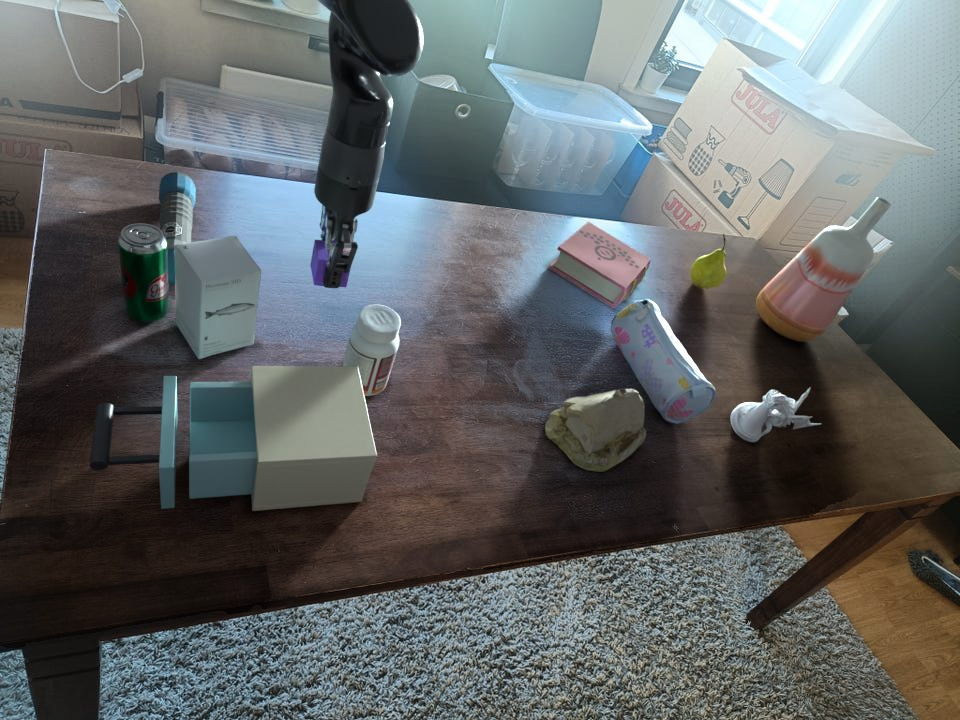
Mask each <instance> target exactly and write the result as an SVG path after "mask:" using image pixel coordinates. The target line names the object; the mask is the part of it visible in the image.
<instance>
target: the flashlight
mask: <svg viewBox="0 0 960 720" xmlns="http://www.w3.org/2000/svg"><path fill="white" fill-rule="evenodd" d="M196 192H197V188H196V184H195V182H194V181H193V179H192V178H191V177H190V176H188V175H187V174H185V173H182V172H178V171H172V172H169V173H166V174H164V175H163V176H162V177H161V179H160V183H159V190H158V201H159V204H160V211H159V213H160V214H159V222H158V225H159V229H160V230H161V231H162V232H163V235H164V237H165V238H166V240H167V251H168V285H169V286H175V245H176V244H183V243H190V242H192V229H193V222H194V220H193V216H194V214H193V212H194V211H193V210H194V208H195V204H196V199H197V198H196V194H197V193H196Z"/></svg>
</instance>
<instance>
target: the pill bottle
mask: <svg viewBox="0 0 960 720" xmlns="http://www.w3.org/2000/svg"><path fill="white" fill-rule="evenodd" d="M401 324H402V321H401V317H400V315H399V313H397V312H396V311H395V310H394V309H392V308H391V307H389V306H386V305H383V304H378V303H377V304H374V303H373V304H368V305H366V306H364V307H362V308H361V309H360V311H359V314H358V316H357V321H356V323H355V324H354V326H353V327H352V328H351V330H350V333H349V337H348V342H347V345H346V349H345V354H344V359H343V364H342V367H358V369H359V374H360V379H361V383H362V388H363V393H364V397H371V396H377V395H378V394H380V393H382V392H383V391H384V389H386V387H387V384H388V382H389V378H390V376H391V373H392V372H391V371H392V369H393V366H394V362H395V359H396V356H397V352H398V349H399V346H400V336H399V332H400V328H401Z"/></svg>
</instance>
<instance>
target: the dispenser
mask: <svg viewBox="0 0 960 720" xmlns="http://www.w3.org/2000/svg"><path fill="white" fill-rule="evenodd" d="M249 382H252V390H253V404H254V419H255V434H256V449H257V467H256V476H255V484H254V492H253V494H250V497H251V510H252V512H256V511H257V512H258V511H259V512H260V511H269V510H279V509H281V510H282V509H291V508H293V509H294V508H303V507H316V506H328V505H339V504H351V503H352V504H353V503H361V502H362V501H363V499H364V496H365V493H366V490H367V487H368V484H369V481H370V478H371V475H372V471H373V470H374V469H373V468H374V466H375V463H376V459H377V457H378V453H377V449H376V444H375V440H374V434H373V431H372V430H373V429H372V425H371V420H370V416H369V411H368V406H367V402H366V396H364V393H363V388H362V383H361V379H360V374H359V369H358V367H343V366H336V365H335V366H332V365H331V366H329V365H327V366H326V365H325V366H321V365H320V366H319V365H317V366H315V365H314V366H313V365H312V366H309V365H307V366H305V365H304V366H302V365H297V366H295V365H294V366H293V365H291V366H290V365H287V366H286V365H285V366H284V365H251V369H250V379H249Z"/></svg>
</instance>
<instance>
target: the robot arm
mask: <svg viewBox="0 0 960 720" xmlns="http://www.w3.org/2000/svg"><path fill="white" fill-rule="evenodd" d="M317 1H318V2H319V3H320V4H321V5H322V6H323V7H325V8H326V9H327V10H329V11H330V14H329V18H328V33H327V36H328V37H327V38H328V39H327V40H328V55H329V57H328V58H329V70H330V79H331V89H332V94H331V100H330V104H329V109H328V117H327V122H326V128H325V132H324V135H323V138H322V141H321V146H320V153H319V158H318V163H317V164H318V166H317V170H316V177H315V182H314V183H315V184H314V189H313V193H314V196H315V199H316V200H317V201H318V202H319V203H320V204H321V205H322V206H321V217H320V222H319V227H320V230H321V233H320V240H325V248H326V250H327V251H328V255H327V261H326V270H325V275H324V280H323V284H324V286H323V287H324V288H326V289H339V288H340V287H339V286H340V282H341V278H342V273H349V271H350V272H351V269H352V265H353V262H354V260H355V256H356V254H357V251H358V249H359V245H358V242H357V241H354V239H355V234H356V233H357V230H358V223H359V222H358V218H357V217H358V216H360V215H363V214H365V213H367V212H369V211H370V210H371V209H372V208H373V205H374V201H375V199H376V198H375V197H376V194H377V188H378V184H379V181H380V178H381V177H380V176H381V172H382V167H383V163H384V158H385V148H386V141H387V137H388V132H389V130H390V129H389V128H390V124H391V120H392V117H393V116H392V115H393V112H394V111H393V110H394V100H393V96H392V94H391V92H390V90H389V89H388V88H387V87H386V85H385V84H384V82H383V80H382V78H381V75H382V76H385V77H390V78H391V77H392V78H396V77H401V76H404V75H406V74H408V73H410V72H411V71H412V70H413V69H414V68H415V67H416V66H417V64H419V61H420V59H421V56H422V53H423V49H424V30H423V26H422V24H421V20H420V18H419V16H418V14H417V12H416V10H415V8H414V7H413V5H412V4H411V2H410V1H409V0H317ZM331 241H335V242H336V243H335V244H332V243H331ZM350 268H351V269H350ZM349 274H350V273H349Z"/></svg>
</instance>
